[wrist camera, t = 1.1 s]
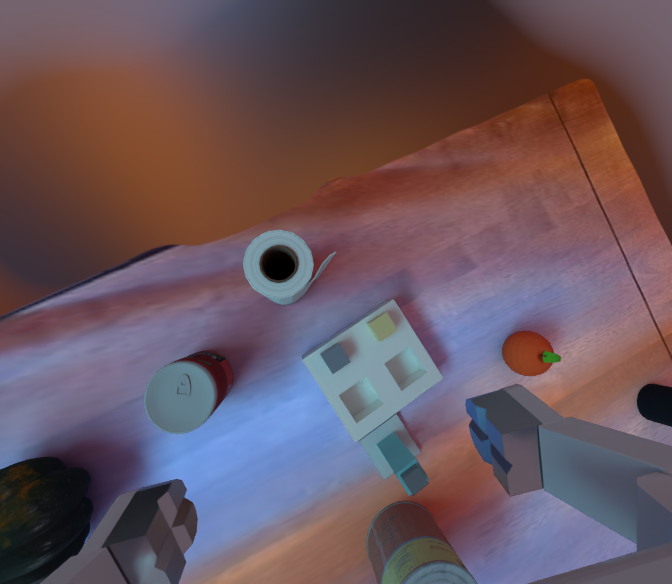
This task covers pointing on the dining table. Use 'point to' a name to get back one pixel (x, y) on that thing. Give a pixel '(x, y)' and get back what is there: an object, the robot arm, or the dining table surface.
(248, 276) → the paper towel roll
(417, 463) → the plug
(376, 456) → the mat
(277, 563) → the dining table surface
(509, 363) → the clementine
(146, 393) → the canned food
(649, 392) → the insulated water bottle
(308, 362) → the block
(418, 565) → the canned food
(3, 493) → the squash
